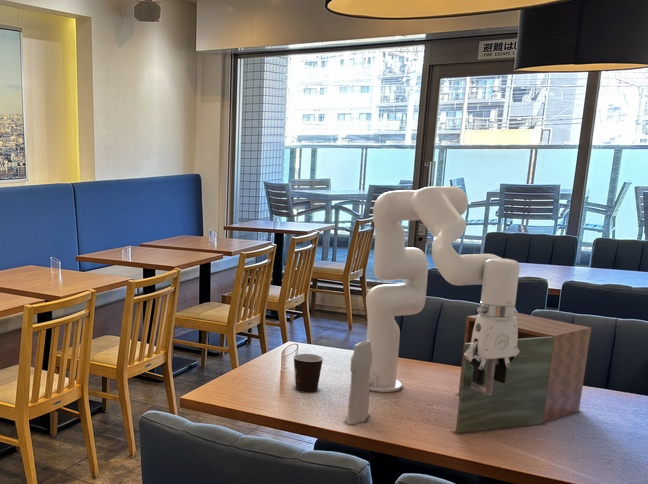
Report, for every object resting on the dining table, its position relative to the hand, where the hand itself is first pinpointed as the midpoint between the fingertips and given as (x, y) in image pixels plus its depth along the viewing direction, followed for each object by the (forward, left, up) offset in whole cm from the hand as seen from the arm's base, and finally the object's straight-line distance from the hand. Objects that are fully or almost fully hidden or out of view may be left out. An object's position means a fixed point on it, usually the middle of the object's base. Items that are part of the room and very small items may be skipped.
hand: (488, 381), depth 176 cm
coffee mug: (-9, +54, -16) cm, 56 cm away
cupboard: (+33, +13, -16) cm, 39 cm away
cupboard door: (+11, 0, -15) cm, 19 cm away
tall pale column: (-16, +27, -16) cm, 35 cm away
